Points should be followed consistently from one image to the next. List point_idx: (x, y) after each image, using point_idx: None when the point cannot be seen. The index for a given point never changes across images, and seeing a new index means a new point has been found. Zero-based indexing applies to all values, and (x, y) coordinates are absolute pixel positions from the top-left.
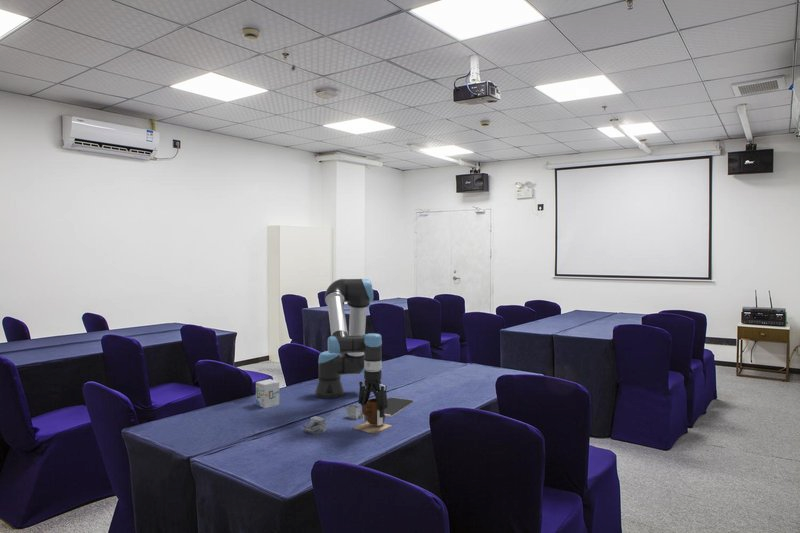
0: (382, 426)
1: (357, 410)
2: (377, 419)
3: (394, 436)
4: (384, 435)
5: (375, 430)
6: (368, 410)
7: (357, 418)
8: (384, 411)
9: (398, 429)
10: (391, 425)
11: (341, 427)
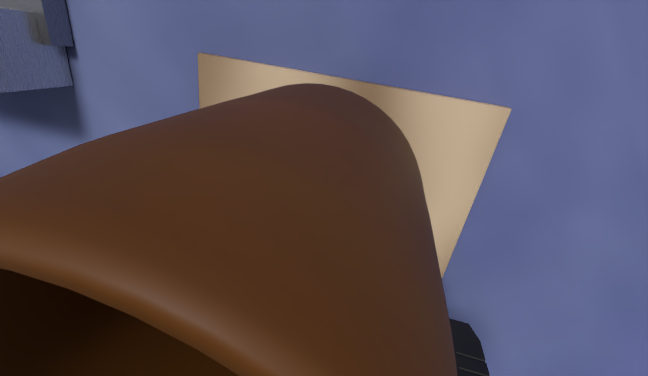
0: None
1: None
2: None
3: (619, 339)
4: (511, 338)
5: None
6: (212, 366)
7: (65, 64)
8: (433, 239)
9: (621, 162)
10: (499, 108)
11: None
